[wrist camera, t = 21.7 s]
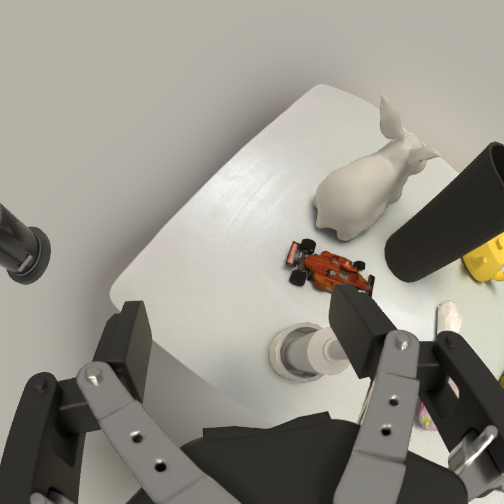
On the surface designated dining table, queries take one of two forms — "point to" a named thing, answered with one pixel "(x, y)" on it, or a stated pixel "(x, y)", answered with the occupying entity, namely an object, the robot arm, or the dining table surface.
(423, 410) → the decorative item
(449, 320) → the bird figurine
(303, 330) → the stand
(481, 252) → the teapot
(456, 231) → the vase
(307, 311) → the dining table surface
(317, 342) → the bottle
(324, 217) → the rabbit
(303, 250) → the toy car
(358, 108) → the dining table surface
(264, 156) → the dining table surface
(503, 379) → the olive yellow toy bird
